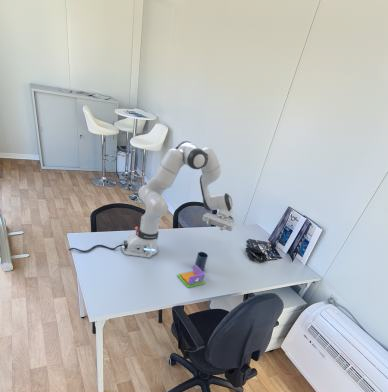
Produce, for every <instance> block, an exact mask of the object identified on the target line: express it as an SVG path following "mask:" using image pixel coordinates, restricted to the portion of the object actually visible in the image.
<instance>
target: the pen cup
mask: <svg viewBox="0 0 388 392" xmlns="http://www.w3.org/2000/svg"><path fill="white" fill-rule="evenodd" d="M208 257H209V254H208V253H206V252H204V251H199V252H197V255H196V259H195V263H194V265H197V266H198V267H199V268H200V269H201V270H202V271H203V272H204V270H205V268H206V264H207V260H208Z"/></svg>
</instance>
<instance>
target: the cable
mask: <svg viewBox="0 0 388 392" xmlns="http://www.w3.org/2000/svg"><path fill="white" fill-rule="evenodd" d="M245 251H246V254H247V256H248V258H249V259H250V260H251V261H257V262H259V263H265V262H266V260H267V259H268V258H267V257H268V256H267V254H265V252H263V251H262V250H260V249H257V248H255V247H251V246H247V247H245ZM254 253H255V254H258V255H260V257H258V256H257V255H255V254H254ZM259 253H260V254H259ZM261 254H262V255H261Z"/></svg>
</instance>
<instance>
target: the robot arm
mask: <svg viewBox="0 0 388 392" xmlns="http://www.w3.org/2000/svg"><path fill="white" fill-rule="evenodd" d="M185 165H186V166H188V167H189V168H191V169H193V170H201V175H200V177H199V185H200V191H201V196H202V204H203V209H205V210H206V211H208V212H206V213H204V214H203V215H202V218H201V220H202V222H205V225H207V226H210V225H212V226H215V227H218V228H220V231H224V230H225V231H228V232H232V231H233V229H234V225H235V220H236V219H235V218H234V217H232V216H233V212H234V210H233V209H234V208H233V199H232V197H231V195H230V194H228V193H227V192H225V193H218V194H210V189H209V185H211V184H213V183H214V182H216V181H217V180H218V179H219V178H220V176H221V173H222V169H221V164H220V162H219V159H218V156H217V154H216V152H215V151H214V149H213V148H211V147H209V146H206V147H202V149H201V148H200V147H198V145H197V144H195V143H192V142H191V141H189V140H184V141H181V142H180V143H179V144H178V145H177V146H176V147H175V148H174V147H173V148H170V149H168V150H167V152H166V153H165V154H164V156H163V157H162V159H161V161H160V162H159V164H158V167H157V168H156V171H155V172H154V174H153V176H152V177H151V179H150V180H149V181H148V182H147V183H146V184H144V185H142V186H140V187H139V189H138V191H137V195H138V198H139V201H140V202H141V203H142V204H143V205H144V207H145V212H144V214H142V215H141V217H140V224H139V227H138V226H135V227H134V230H135V231H136V232H135V233H133V234H131V235H129V236H128V237H127V238H126V239H125V240H123V242H122V244H119V245H116V246H115V247H109V246H107V245H104V244H96V245H94V246H92V247H91V248H89V249H87V250H82V249H79V248H76V247H70V248H69V249H68V251H71V250H75V251H78V252H81V253H87V252H90V251H92V250H93V249H95V248H96V247H102V248H105V249H107V250H108V249H109V250H113V251H114V250H116V249H118V248H119V247H121V251H122V252H123V254H124V255H127V256H134V257H142V258H152V257H153V256H154V255H156V254H157V253H158V251H159V250H158V238H159V227H160V221H161V218H162V217H163V216H165V215H166V214H167V212H168V210H169V204H168V202H167V200H166V198H165V197H164V196H163V193H164V192H165V191H166V190H167V189H170V188H171V187H172V186H173V184H174V182H175V180H176V179H177V177H178V175H179V173H180V170H181V169H182V167H183V166H185ZM210 211H212V212H213V211H218V212H216V213H215V214H214V213H211V212H210Z"/></svg>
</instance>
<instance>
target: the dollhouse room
mask: <svg viewBox="0 0 388 392" xmlns="http://www.w3.org/2000/svg"><path fill="white" fill-rule="evenodd" d="M177 277H178V278H179V279H180V280H181V281H182V283H183V284H184V285H185V286H186V287H187V288H192V287H193V288H194V287H196V286H200V285H204V284H205V281H204V278H205V272H204V271H202V270H201V269H200V268H199V267H198V266H197V265H195V264H194V265H193V269H192V271H188V272H184V273H179V274H178V275H177Z"/></svg>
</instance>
